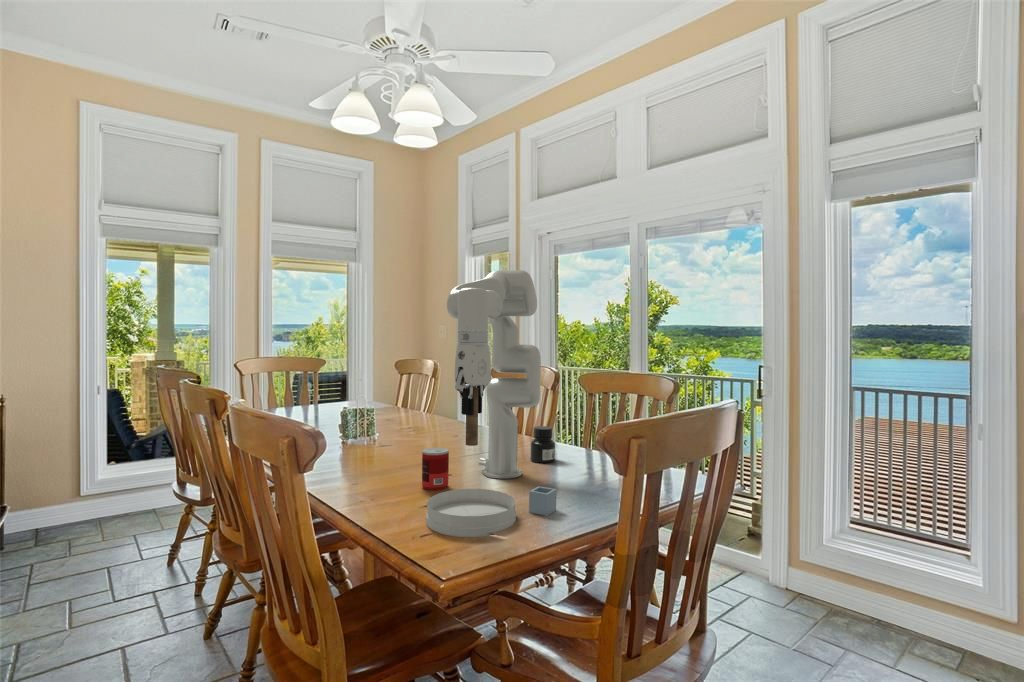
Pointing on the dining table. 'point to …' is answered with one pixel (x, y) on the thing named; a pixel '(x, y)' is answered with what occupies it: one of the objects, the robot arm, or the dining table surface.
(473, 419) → the dowel
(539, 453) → the ink bottle
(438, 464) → the canned food
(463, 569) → the dining table surface
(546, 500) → the cup
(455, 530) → the dish
